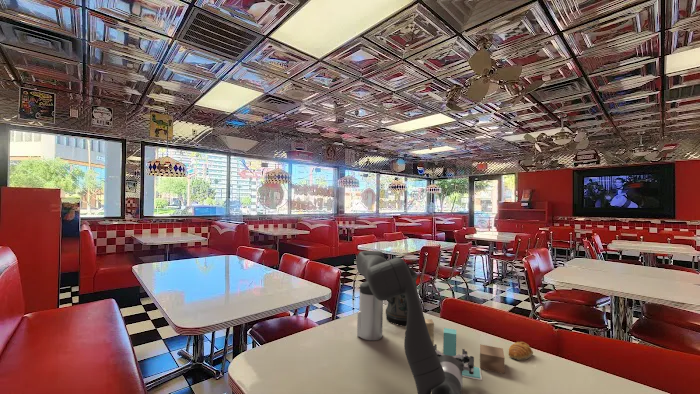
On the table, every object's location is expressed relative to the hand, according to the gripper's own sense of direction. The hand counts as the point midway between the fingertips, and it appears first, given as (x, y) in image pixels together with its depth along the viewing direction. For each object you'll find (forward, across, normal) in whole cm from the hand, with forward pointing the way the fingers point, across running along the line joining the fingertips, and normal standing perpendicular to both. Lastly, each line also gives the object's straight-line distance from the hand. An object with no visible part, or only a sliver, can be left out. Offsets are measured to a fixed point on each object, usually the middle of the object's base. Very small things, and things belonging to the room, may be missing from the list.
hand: (449, 349), depth 99 cm
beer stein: (+35, +21, +6) cm, 41 cm away
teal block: (+5, 0, +6) cm, 8 cm away
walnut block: (+7, -13, +6) cm, 16 cm away
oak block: (+11, +8, +6) cm, 15 cm away
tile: (0, -6, +6) cm, 8 cm away
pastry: (+19, -23, +6) cm, 31 cm away
